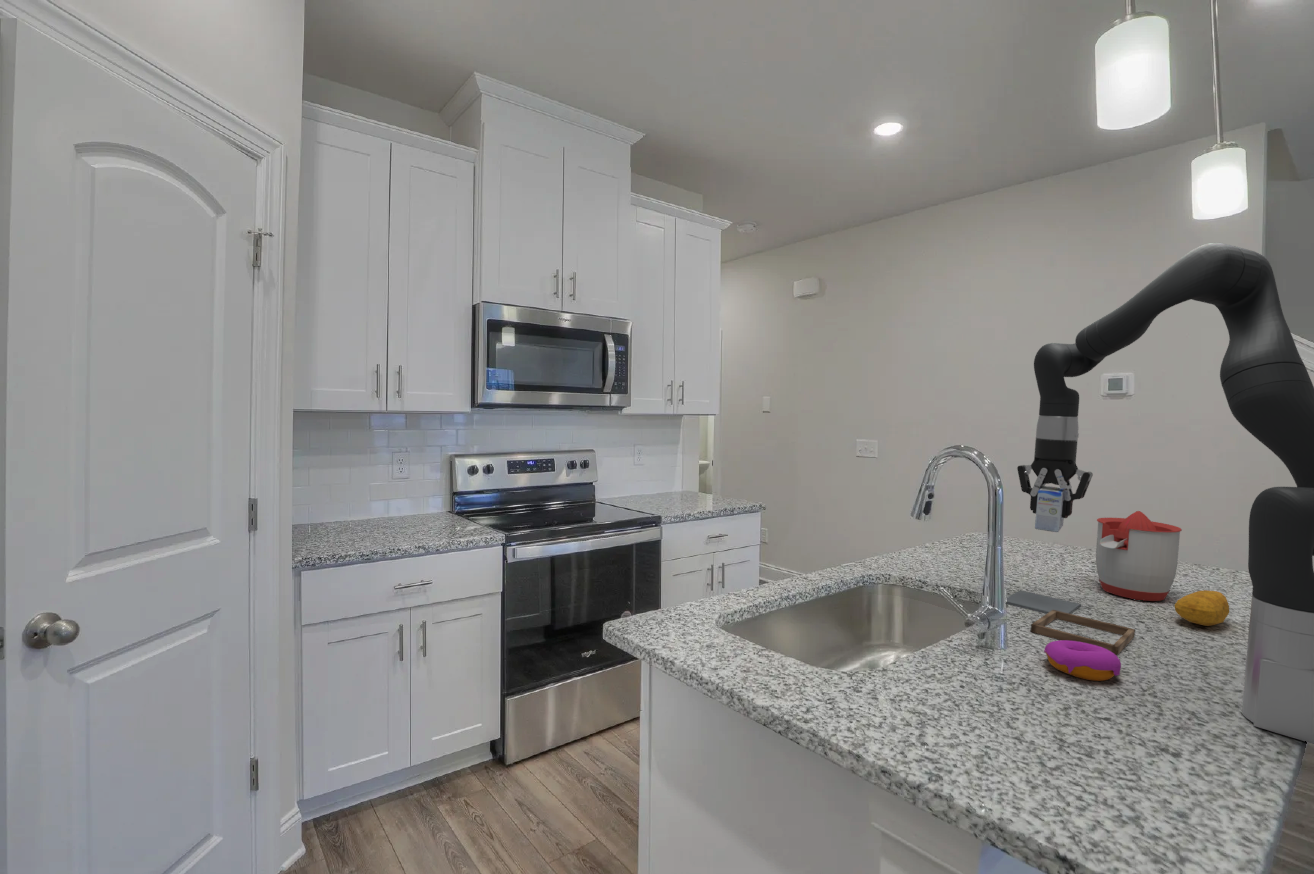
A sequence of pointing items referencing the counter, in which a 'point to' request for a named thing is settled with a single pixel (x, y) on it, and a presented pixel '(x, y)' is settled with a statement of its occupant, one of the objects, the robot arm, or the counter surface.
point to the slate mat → (1041, 602)
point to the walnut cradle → (1061, 635)
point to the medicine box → (1049, 509)
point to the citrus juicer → (1137, 556)
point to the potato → (1203, 607)
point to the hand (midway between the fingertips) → (1050, 514)
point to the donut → (1083, 660)
